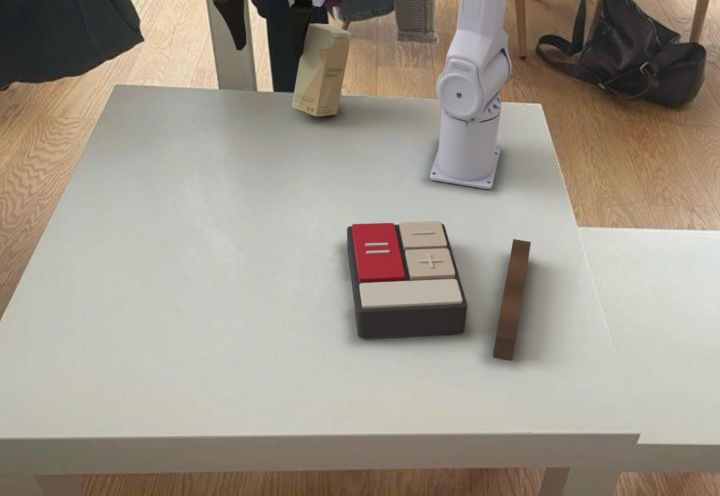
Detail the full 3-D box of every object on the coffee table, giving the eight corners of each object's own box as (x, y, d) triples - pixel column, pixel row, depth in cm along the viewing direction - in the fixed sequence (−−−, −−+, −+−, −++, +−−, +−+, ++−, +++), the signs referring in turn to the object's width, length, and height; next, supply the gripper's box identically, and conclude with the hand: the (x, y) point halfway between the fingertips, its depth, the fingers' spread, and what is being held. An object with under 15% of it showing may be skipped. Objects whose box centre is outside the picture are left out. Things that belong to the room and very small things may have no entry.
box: (315, 117, 109) (330, 32, 104) (290, 107, 110) (303, 22, 105) (338, 114, 113) (353, 32, 108) (313, 104, 114) (327, 22, 109)
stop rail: (509, 259, 93) (513, 238, 91) (527, 262, 93) (531, 241, 91) (492, 357, 82) (496, 335, 80) (512, 360, 82) (516, 339, 80)
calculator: (444, 216, 92) (469, 300, 81) (442, 248, 95) (465, 333, 84) (346, 219, 90) (357, 306, 79) (346, 251, 93) (358, 339, 82)
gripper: (189, -56, 94) (204, 56, 104) (312, -38, 93) (315, 74, 103) (211, -76, 99) (224, 33, 109) (328, -59, 98) (330, 49, 108)
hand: (269, 51), depth 106 cm, fingers open, 7 cm apart
